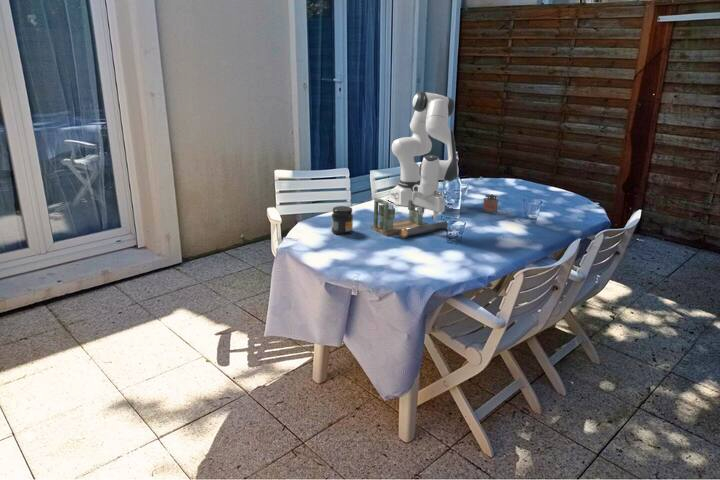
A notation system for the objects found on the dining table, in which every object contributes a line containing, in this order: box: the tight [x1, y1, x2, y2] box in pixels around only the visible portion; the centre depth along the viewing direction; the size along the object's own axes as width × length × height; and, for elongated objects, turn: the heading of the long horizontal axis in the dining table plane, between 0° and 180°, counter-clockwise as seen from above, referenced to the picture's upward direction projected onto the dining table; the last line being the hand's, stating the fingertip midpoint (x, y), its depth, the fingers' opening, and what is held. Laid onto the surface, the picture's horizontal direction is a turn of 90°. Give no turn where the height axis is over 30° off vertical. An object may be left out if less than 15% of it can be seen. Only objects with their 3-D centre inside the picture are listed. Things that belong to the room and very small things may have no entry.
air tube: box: [398, 220, 449, 239], centre depth 273 cm, size 28×4×4 cm, turn 125°
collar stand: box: [370, 197, 429, 237], centre depth 277 cm, size 13×28×16 cm, turn 125°
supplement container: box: [331, 205, 354, 236], centre depth 270 cm, size 10×10×12 cm
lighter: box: [482, 193, 499, 214], centre depth 311 cm, size 8×3×10 cm, turn 84°
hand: (427, 217), depth 270 cm, fingers open, 8 cm apart
